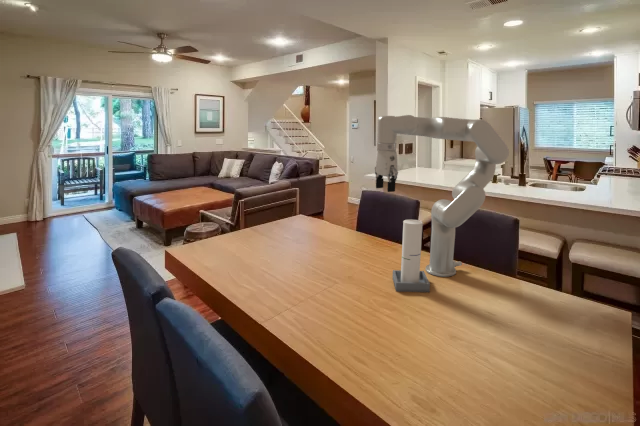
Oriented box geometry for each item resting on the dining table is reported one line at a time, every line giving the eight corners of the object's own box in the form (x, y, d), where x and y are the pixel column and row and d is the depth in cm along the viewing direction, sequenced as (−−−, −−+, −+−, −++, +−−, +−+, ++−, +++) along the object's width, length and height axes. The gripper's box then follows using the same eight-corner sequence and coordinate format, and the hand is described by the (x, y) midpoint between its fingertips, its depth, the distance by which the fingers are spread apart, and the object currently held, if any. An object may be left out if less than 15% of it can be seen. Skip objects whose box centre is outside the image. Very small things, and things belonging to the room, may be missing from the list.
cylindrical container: (419, 286, 140) (423, 224, 134) (400, 285, 142) (403, 223, 136) (418, 279, 147) (421, 219, 141) (400, 278, 148) (403, 219, 143)
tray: (423, 278, 150) (423, 271, 149) (429, 292, 138) (429, 283, 137) (392, 278, 151) (392, 270, 150) (395, 291, 139) (396, 282, 138)
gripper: (406, 148, 138) (404, 192, 142) (384, 146, 154) (383, 186, 158) (389, 149, 136) (387, 193, 140) (368, 146, 152) (367, 187, 156)
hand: (385, 189), depth 149 cm, fingers open, 9 cm apart
